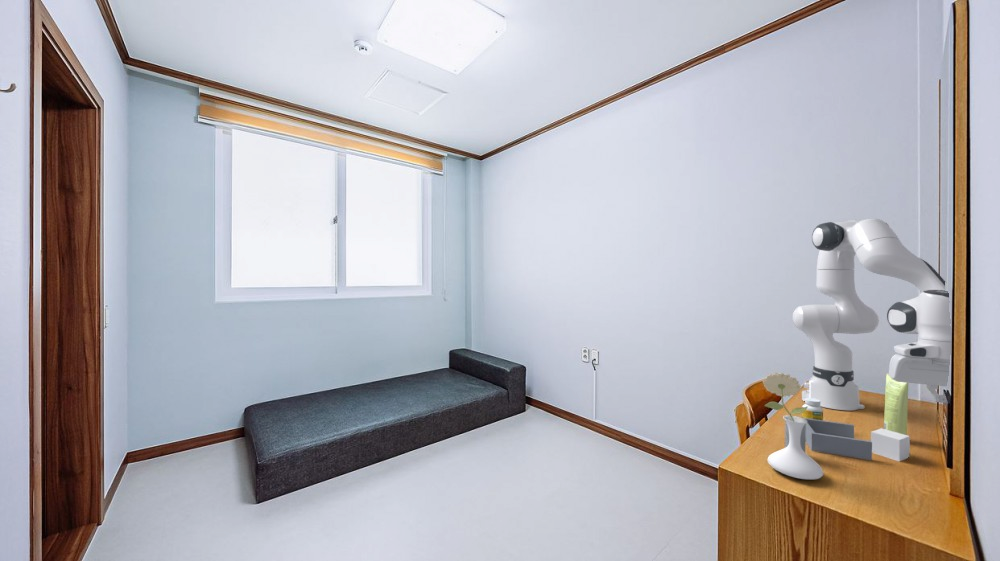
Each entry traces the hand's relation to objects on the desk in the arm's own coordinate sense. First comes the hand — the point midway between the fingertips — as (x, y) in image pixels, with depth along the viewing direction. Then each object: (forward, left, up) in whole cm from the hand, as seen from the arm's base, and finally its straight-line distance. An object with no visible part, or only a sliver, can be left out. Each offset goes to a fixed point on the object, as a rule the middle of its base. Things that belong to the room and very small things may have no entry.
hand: (941, 402), depth 103 cm
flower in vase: (+24, -37, -17) cm, 47 cm away
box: (0, -23, -16) cm, 28 cm away
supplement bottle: (-13, -24, -17) cm, 33 cm away
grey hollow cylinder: (+13, -34, -17) cm, 40 cm away
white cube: (0, -10, -17) cm, 20 cm away
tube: (-14, -4, -17) cm, 22 cm away
